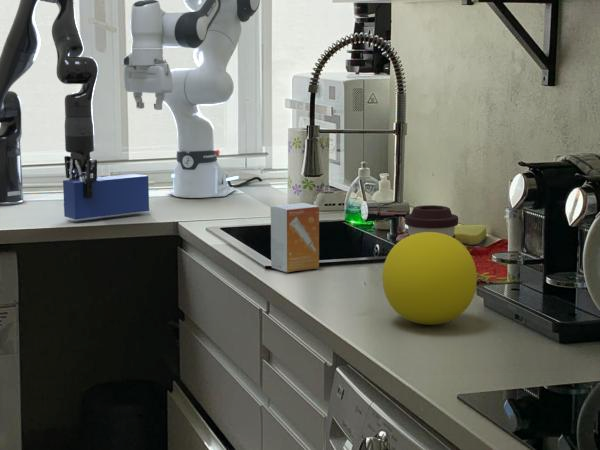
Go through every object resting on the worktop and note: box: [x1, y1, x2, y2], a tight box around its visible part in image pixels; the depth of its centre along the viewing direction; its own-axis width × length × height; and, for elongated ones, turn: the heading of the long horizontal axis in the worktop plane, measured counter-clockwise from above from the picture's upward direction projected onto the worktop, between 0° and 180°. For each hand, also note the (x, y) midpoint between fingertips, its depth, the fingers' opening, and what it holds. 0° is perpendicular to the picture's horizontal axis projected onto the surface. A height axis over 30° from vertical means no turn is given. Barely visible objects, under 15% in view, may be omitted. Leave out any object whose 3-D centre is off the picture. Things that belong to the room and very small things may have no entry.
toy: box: [381, 232, 478, 326], centre depth 170 cm, size 15×15×15 cm
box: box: [62, 173, 150, 220], centre depth 282 cm, size 22×6×10 cm, turn 129°
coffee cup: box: [404, 204, 459, 239], centre depth 197 cm, size 10×10×15 cm
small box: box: [270, 202, 320, 273], centre depth 214 cm, size 8×6×13 cm
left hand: (81, 196), depth 277 cm, fingers closed on box, 6 cm apart
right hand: (149, 109), depth 293 cm, fingers open, 8 cm apart
